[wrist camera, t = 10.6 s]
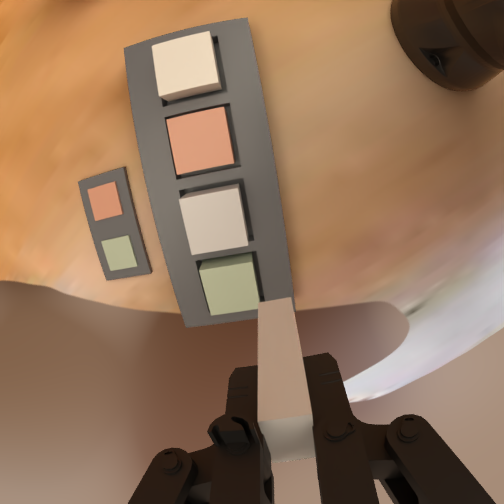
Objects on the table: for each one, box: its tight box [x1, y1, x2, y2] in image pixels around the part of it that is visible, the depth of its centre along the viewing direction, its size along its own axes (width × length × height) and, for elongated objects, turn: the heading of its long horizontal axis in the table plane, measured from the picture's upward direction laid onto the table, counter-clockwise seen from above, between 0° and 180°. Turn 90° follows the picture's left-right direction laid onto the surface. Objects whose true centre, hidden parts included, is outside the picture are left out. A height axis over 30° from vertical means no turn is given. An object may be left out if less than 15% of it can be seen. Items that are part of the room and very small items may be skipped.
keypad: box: [124, 18, 296, 328], centre depth 27 cm, size 30×12×3 cm, turn 10°
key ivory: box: [152, 31, 222, 102], centre depth 21 cm, size 5×5×3 cm
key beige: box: [179, 183, 248, 255], centre depth 26 cm, size 5×5×3 cm
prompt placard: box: [78, 167, 152, 280], centre depth 30 cm, size 12×6×1 cm, turn 10°
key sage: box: [199, 251, 260, 315], centre depth 30 cm, size 5×5×3 cm
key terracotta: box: [167, 107, 236, 175], centre depth 25 cm, size 5×5×3 cm
